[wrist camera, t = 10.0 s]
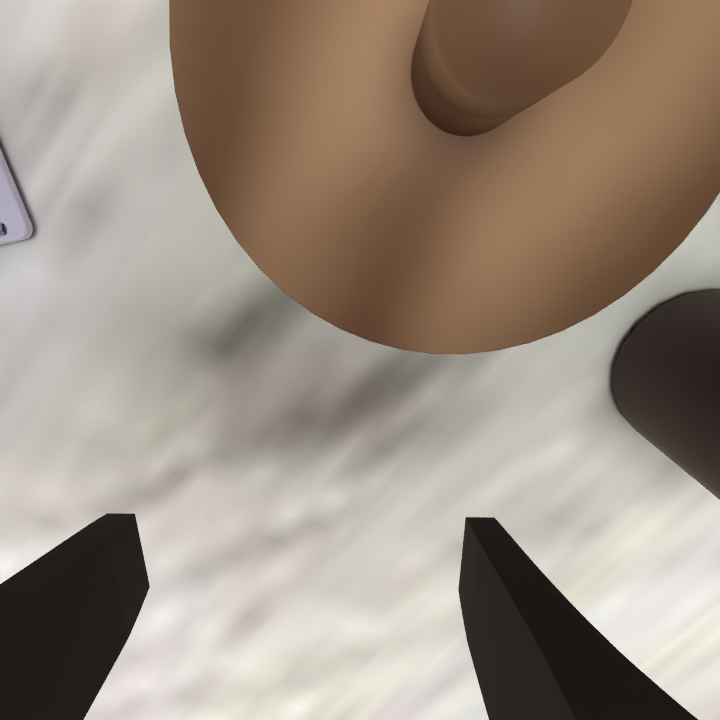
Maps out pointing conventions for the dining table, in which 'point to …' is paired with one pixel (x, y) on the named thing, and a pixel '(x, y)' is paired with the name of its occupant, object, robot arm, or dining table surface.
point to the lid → (453, 153)
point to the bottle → (676, 383)
